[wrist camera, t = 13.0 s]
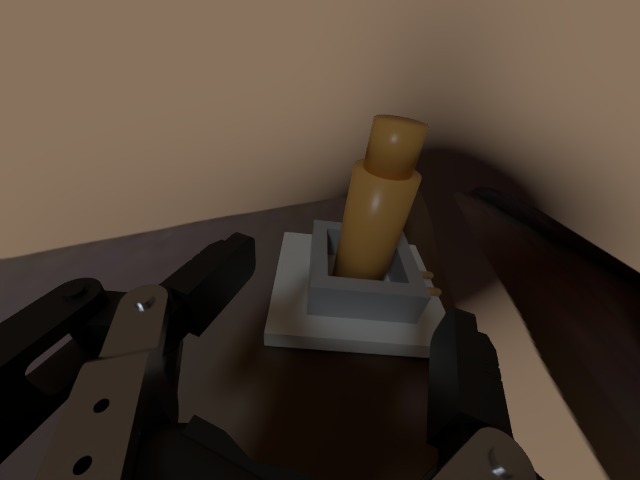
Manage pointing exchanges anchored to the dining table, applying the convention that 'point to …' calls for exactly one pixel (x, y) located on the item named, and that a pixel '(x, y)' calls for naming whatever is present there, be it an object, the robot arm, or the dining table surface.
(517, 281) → the dining table surface
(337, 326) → the hollow square frame plate
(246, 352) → the dining table surface
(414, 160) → the stepped amber cylinder
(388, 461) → the dining table surface
